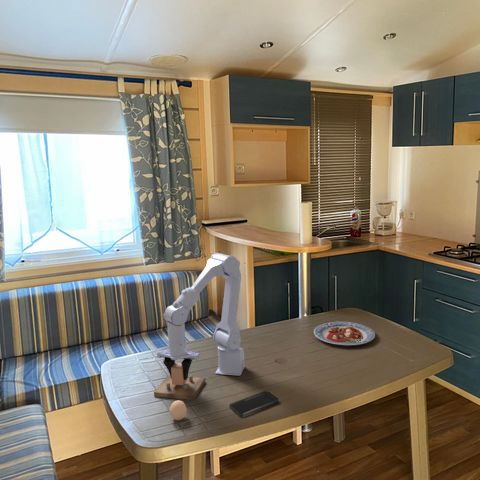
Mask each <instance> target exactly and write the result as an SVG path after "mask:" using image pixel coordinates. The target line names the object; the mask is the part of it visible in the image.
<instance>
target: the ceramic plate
mask: <svg viewBox="0 0 480 480" xmlns="http://www.w3.org/2000/svg"><path fill="white" fill-rule="evenodd" d="M361 334H362V336H363V339H361V338H362V336H361ZM313 335H314V336H315V338H317V339H318V340H320V341H322V342H324V343H329V344H332V345H339V346H359V345H363V344H367V343H370V342H372V341H373V340H374V339H375V337H376V333H375V331H374V330H373V329H372V328H370V327H368V326H366V325H363V324H360V323H356V322H351V321H331V322H326V323H322V324H320V325H318V326H316V327H315V328H314V330H313ZM360 339H361V341H359V340H360ZM357 340H358V341H359V342H358V341H357ZM352 341H353V342H352ZM354 341H355V342H356V343H354ZM349 342H350V343H349ZM351 342H352V343H351Z"/></svg>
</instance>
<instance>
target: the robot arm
mask: <svg viewBox="0 0 480 480" xmlns="http://www.w3.org/2000/svg"><path fill="white" fill-rule="evenodd" d="M240 264H241V262H240V260H239V259H238V258H237V257H236V256H234V255H228V254H225V253H221V252H214V253H213V254H212V255H211V256H210V258H209V259H207V262H206V266H205V268H204V269H203V270H202V271H201V272H200V274H199V275H198V277H197V278H196V279H195V281H194V283H193V284H192V285H191V287H186V288H185V289H182V291H181V294H180V295H179V296H178V297H177V298H176V300H175V301H173V303H172V304H171V305H168V306H167V307H166V309H164V310H165V311H164V313H163V314H162V316H163V319H164V320H165V321H166V325H167V326H166V327H167V337H168V338H167V339H168V349H167V350H166V349H165V350H157V352H156V358H157V359H162V358H164V359H163V365H164V366H165V367H166V369H167V371H168V373H169V375H170V376H171V379H172V375H171V367H172V366H173V365H174V364H175V363H176V360H179V359H181V360H182V361H181V362H180V363H181V364H182V368H183V377H184V380H186V379H187V378H188V377H189V371H190V368H191V364H192V363H193V361H196V362H197V361H199V359H200V353H199V352H196V351H195V352H194V351H190V350H187V342H186V340H187V339H186V327H185V325H186V324H185V323H186V322H187V320H188V316H189V313H190V311H191V310H192V309H193V307H194V306H195V304H197V302H198V301H199V299H200V293H201V292H202V291H203V290H204V288H206V286H207V285H208V284H209V283H210V282H211V281H212V280H213V279H214V278H215V277H221V276H222V277H223V278H224V280H225V281H224V282H225V284H224V291H223V300H222V302H223V303H222V309H221V320H220V321H219V322H218V323H217V324H216V327H215V330H214V332H213V337H212V339H213V341H214V342H215V343H216V347H217V360H218V363H217V364H218V366H217V369H216V370H215V375H224V376H226V375H227V376H236V377H237V376H239V377H240V376H241V375H242V373H243V371H244V369H245V367H246V365H245V349H244V348H242V347H240V346H241V342H242V338H241V335H240V333H241V329H240V327H239V326H238V324H237V315H238V309H239V308H238V307H239V298H240V297H239V296H240V290H241V280H242V273H241V270H240Z"/></svg>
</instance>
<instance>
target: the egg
mask: <svg viewBox="0 0 480 480" xmlns="http://www.w3.org/2000/svg"><path fill="white" fill-rule="evenodd" d="M187 412H188V411H187V406H186V404H185V403H184V401H182V400H181V399H178V400H175V401H173V402H172V403H171V405H170V407H169V415H170V417H171V419H173V420H175V421H181V420H183V419H184V418H185V417H186V415H187Z"/></svg>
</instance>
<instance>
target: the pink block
mask: <svg viewBox="0 0 480 480" xmlns="http://www.w3.org/2000/svg"><path fill="white" fill-rule="evenodd" d="M181 363H182V362H175V364H174V365H173V366H172V367H171V375H172V385H183V384H185V382H186V381H187V379H186V380H184V377H183V368H182V364H181Z"/></svg>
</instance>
